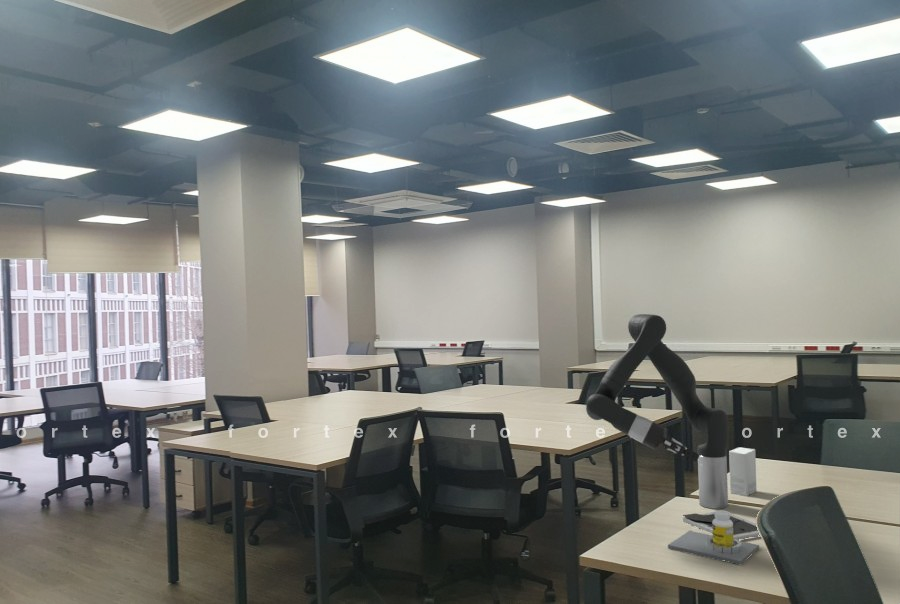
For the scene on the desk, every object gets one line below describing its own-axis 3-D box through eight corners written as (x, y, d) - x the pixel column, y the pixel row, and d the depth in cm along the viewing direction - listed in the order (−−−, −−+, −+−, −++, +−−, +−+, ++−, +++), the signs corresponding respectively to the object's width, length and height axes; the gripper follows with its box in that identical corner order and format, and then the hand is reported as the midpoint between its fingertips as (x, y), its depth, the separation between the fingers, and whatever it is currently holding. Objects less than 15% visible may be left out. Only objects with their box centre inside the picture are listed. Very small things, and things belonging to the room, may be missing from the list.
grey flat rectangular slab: (689, 533, 200) (689, 530, 200) (759, 548, 186) (759, 545, 186) (668, 548, 188) (668, 544, 188) (740, 565, 175) (740, 561, 175)
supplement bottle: (708, 545, 187) (707, 510, 187) (723, 542, 189) (722, 508, 189) (723, 552, 182) (721, 516, 182) (738, 548, 184) (737, 513, 184)
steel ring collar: (713, 539, 192) (713, 534, 192) (746, 546, 186) (745, 540, 186) (701, 548, 185) (701, 542, 185) (734, 555, 179) (734, 550, 179)
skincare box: (740, 488, 246) (738, 446, 246) (758, 492, 241) (756, 449, 241) (729, 493, 240) (727, 450, 240) (747, 496, 235) (745, 453, 235)
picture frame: (683, 523, 211) (731, 545, 191) (682, 515, 211) (730, 535, 191) (722, 517, 216) (773, 537, 197) (722, 508, 216) (772, 527, 197)
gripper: (651, 420, 198) (704, 447, 192) (651, 421, 211) (701, 445, 205) (640, 443, 197) (693, 470, 192) (641, 442, 211) (690, 467, 205)
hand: (697, 457), depth 199 cm, fingers open, 8 cm apart
